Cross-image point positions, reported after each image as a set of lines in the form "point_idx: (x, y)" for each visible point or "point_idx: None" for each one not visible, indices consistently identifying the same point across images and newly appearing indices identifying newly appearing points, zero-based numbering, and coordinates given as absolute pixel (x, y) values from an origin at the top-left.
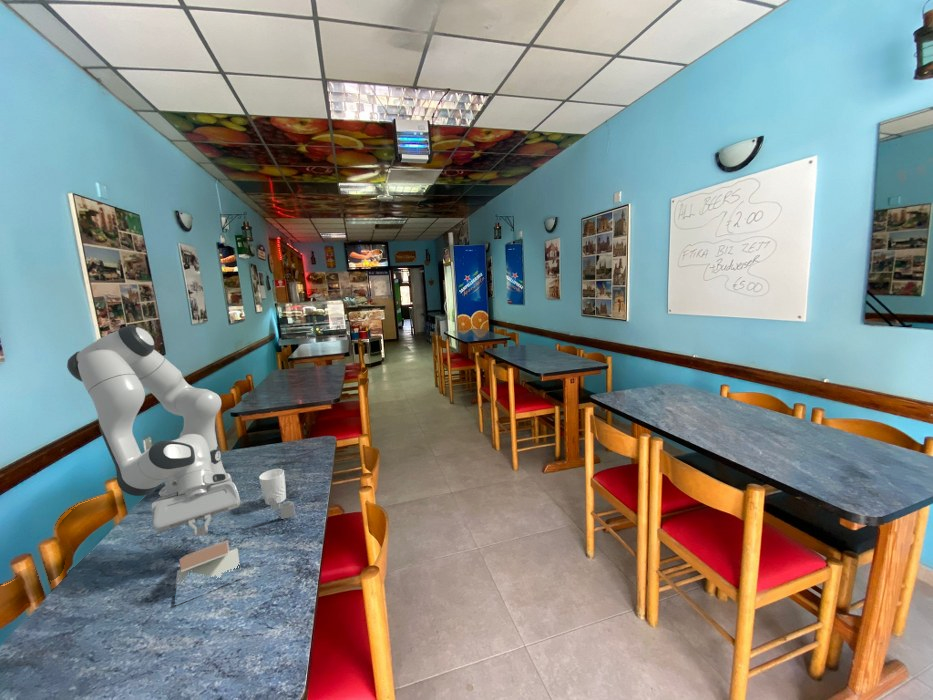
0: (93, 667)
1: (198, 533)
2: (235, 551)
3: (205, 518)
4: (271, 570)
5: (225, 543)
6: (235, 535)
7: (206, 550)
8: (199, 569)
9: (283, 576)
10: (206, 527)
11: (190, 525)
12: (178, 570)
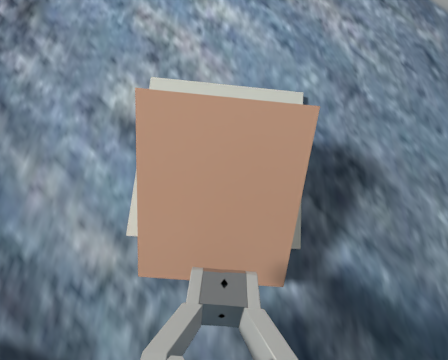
0: (421, 34)
1: (238, 270)
2: (136, 218)
3: (180, 356)
4: (82, 60)
5: (140, 89)
6: (112, 349)
7: (217, 97)
8: None
9: (68, 17)
10: (192, 285)
11: (286, 344)
12: (297, 246)
